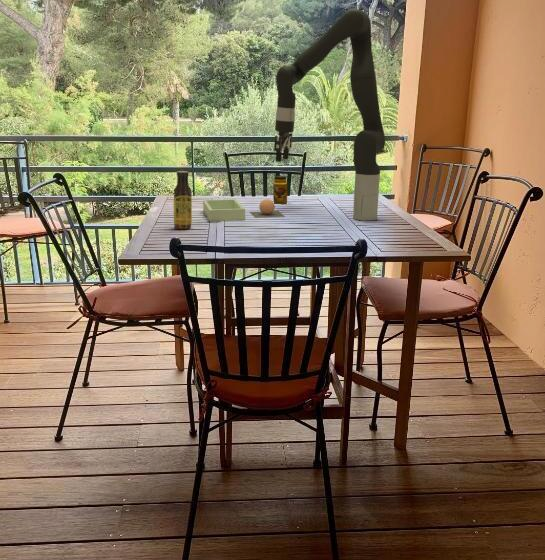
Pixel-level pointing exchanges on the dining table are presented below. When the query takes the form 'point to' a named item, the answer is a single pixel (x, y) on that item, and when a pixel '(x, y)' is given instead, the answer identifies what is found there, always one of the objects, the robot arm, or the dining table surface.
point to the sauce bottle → (182, 202)
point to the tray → (223, 210)
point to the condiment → (280, 190)
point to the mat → (273, 214)
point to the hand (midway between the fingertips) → (282, 160)
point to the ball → (267, 206)
